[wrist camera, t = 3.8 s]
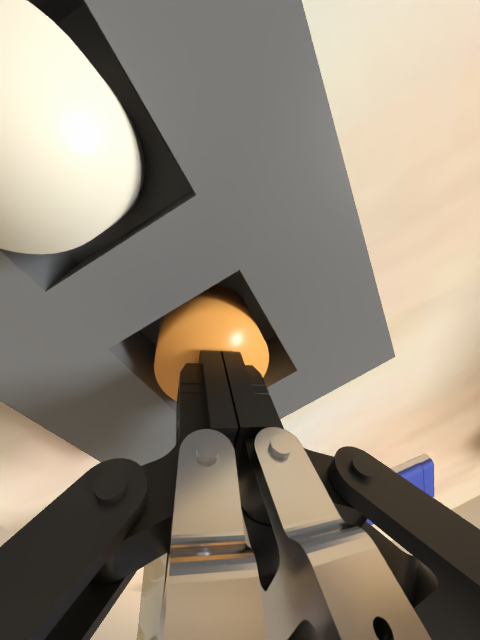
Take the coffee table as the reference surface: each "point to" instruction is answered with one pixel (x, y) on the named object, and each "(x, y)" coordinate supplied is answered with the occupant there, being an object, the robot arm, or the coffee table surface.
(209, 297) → the orange button
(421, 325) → the coffee table surface
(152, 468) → the robot arm
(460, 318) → the coffee table surface
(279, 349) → the button panel
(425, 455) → the hard drive
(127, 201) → the cream button
